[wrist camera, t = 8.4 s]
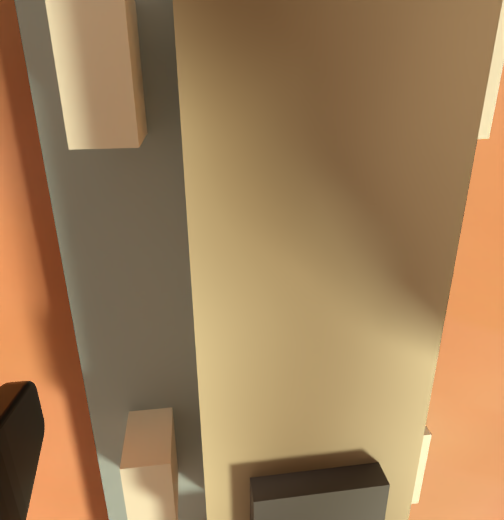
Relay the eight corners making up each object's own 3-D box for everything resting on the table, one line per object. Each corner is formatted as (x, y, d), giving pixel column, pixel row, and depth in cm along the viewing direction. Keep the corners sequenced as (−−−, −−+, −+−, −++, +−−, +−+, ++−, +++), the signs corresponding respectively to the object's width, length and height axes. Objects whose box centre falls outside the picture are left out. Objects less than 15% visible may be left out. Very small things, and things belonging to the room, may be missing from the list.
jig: (501, -246, 9) (665, -408, 6) (385, 508, 18) (428, 602, 15) (-13, -292, 8) (-139, -523, 5) (125, 541, 17) (112, 654, 13)
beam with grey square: (372, -29, 9) (554, -123, 5) (330, 480, 15) (395, 664, 10) (173, -32, 9) (162, -142, 4) (207, 496, 14) (218, 696, 10)
